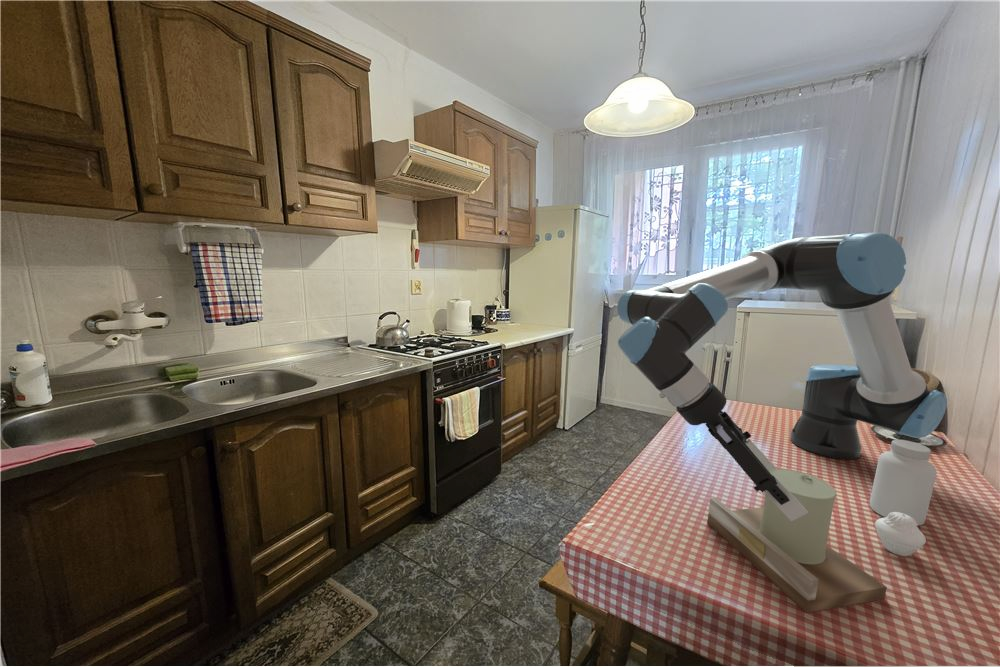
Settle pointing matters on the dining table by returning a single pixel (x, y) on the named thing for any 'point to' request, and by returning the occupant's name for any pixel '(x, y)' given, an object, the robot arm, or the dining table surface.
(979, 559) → the dining table surface
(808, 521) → the can
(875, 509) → the pill bottle
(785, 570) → the shelf
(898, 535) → the muffin
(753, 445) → the robot arm
